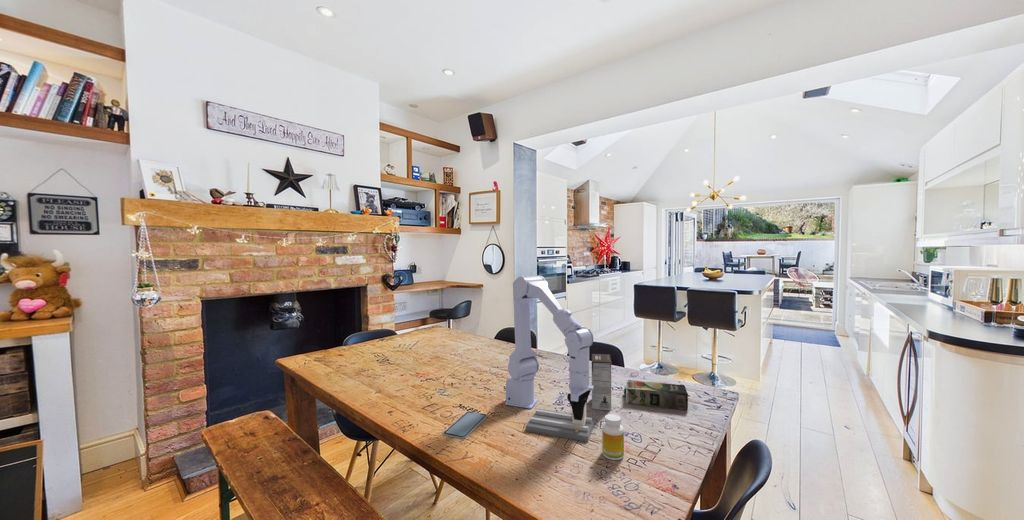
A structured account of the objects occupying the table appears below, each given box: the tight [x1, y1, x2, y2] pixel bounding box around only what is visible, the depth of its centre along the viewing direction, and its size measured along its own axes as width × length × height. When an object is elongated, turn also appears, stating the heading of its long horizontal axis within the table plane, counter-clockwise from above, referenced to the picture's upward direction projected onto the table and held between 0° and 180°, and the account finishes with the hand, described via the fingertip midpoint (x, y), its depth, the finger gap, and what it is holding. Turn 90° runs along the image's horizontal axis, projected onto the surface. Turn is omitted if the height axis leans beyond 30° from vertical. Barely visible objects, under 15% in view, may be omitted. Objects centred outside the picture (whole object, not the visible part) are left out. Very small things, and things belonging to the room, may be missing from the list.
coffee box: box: [591, 353, 612, 411], centre depth 124 cm, size 9×6×16 cm
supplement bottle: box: [601, 413, 625, 461], centre depth 93 cm, size 5×5×10 cm
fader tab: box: [571, 403, 587, 426], centre depth 107 cm, size 3×4×6 cm
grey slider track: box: [525, 408, 596, 443], centre depth 109 cm, size 18×12×2 cm, turn 69°
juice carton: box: [623, 379, 689, 411], centre depth 126 cm, size 20×10×6 cm, turn 72°
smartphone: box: [442, 410, 488, 440], centre depth 110 cm, size 7×1×15 cm
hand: (579, 416), depth 107 cm, fingers closed on fader tab, 3 cm apart
